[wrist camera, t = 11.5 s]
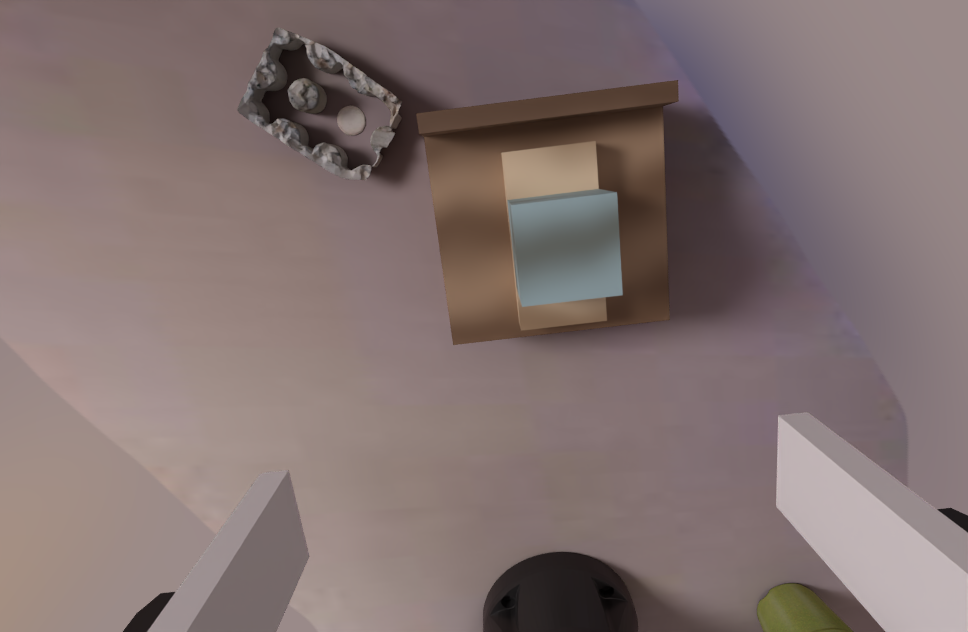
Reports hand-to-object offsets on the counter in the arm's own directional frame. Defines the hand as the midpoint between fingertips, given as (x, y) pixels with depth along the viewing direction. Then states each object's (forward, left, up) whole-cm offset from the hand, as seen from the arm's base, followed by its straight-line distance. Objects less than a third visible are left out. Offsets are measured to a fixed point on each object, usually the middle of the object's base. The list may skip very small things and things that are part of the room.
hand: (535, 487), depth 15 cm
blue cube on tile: (+3, -4, -26) cm, 26 cm away
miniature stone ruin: (+14, +12, -33) cm, 38 cm away
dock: (+4, -4, -33) cm, 33 cm away
